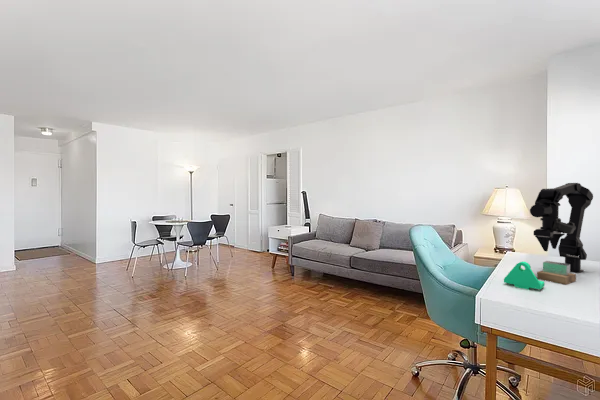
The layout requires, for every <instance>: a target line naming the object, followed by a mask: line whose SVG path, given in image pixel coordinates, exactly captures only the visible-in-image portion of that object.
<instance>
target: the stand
mask: <svg viewBox="0 0 600 400" xmlns="http://www.w3.org/2000/svg"><path fill="white" fill-rule="evenodd" d="M536 277H537V279H538V280H540V281H545V280H546V282H550V281H551V283H555V284H560V285H564V286H566V285H570V284H572V283H574V282H577V281H576V280H577V274H576V273H571V272H570V274H569V275H567V276H564V275H559V274H553V273H547V272H543V269H542V270H540V271H537V272H536Z"/></svg>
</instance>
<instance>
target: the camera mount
mask: <svg viewBox="0 0 600 400" xmlns="http://www.w3.org/2000/svg"><path fill="white" fill-rule="evenodd" d="M522 267H524V268H522ZM531 267H532V266H531V264H529V262H527V261H520V262H518V263H516V264H515V265H514V266H513V268H512V269H511V270H510V271H509V272H508V274H506V275H505V277H504V278H503V283H505V284H510V285H514V288H518V289H519V288H520V289H524V290H531V289H535V290H536V289H537V290H542V289H543V288H544V287H545V281H544V280H540V279H537V275H536V274H535V273H534V272H533V270H532V268H531Z"/></svg>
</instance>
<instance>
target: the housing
mask: <svg viewBox="0 0 600 400" xmlns="http://www.w3.org/2000/svg"><path fill="white" fill-rule="evenodd" d="M542 270H543V272H547V273H553V274H559V275H564V276H567V275H569V274H570V273H571V271H570V264H566V263H565V262H557V261H550V260H545V261H543V262H542Z"/></svg>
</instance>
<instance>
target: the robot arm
mask: <svg viewBox="0 0 600 400" xmlns="http://www.w3.org/2000/svg"><path fill="white" fill-rule="evenodd" d="M564 196H565V197H566V198H567V200H568V202H567V203H568V204H569V206H570V207H571V209H570V214H569V219H568V220H569V221H568V222H563V221H562V219H561V218H559V207H560V206H561V204H560V203H559V202H561V200H562V199H564ZM593 198H594V193H593V192H592V191H591V190H590V189H589V188H587V187H585V186H583V185H582V184H581V183H579V182H566V183H565V184H562V185H559V186H558V187H557V186H556V187H553V188H542V189H540V191H539V192H538V195H537V197H536V199H535V201H534V204H533V205H532V206H531V207H530V209H529V212H530V215H531V216H532V217H534V218H540V221H541V226H540V227H539V228H536V229H535V230H533V236H534V237H535V238H536V240H537V241H538V242H539V244H540V247H541V248H542V249H543V251H544V252H548V250H549V246H550V245H551V248H552V249H553V250H557V247H558V253H559V257H561V258H562V257H563V258H564V263H566V264H570V272H573V273H581V272H584V269H581V268H582V267H581V265H582V263H581V262H582V261H585V260H587V258H588V257H587V256H588V255H587V253H586V250H585V249H584V244H583V242H582V240H581V239H580V237H581V233H582V227H583V222H584V216H585V211H586V209H587V208H588V207H590V206H591V204H592V201H593ZM565 234H566V235H565ZM563 236H564V237H563ZM549 244H550V245H549ZM558 244H559V245H558Z"/></svg>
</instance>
